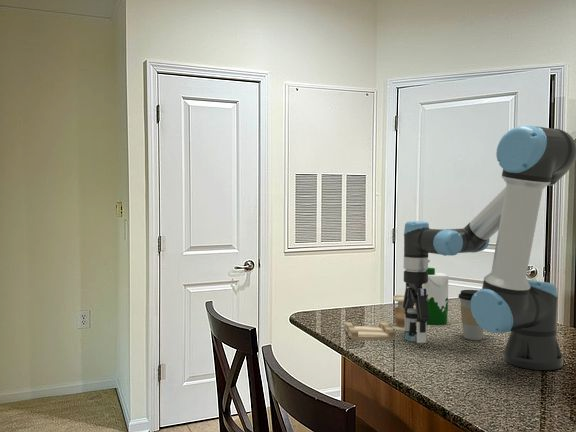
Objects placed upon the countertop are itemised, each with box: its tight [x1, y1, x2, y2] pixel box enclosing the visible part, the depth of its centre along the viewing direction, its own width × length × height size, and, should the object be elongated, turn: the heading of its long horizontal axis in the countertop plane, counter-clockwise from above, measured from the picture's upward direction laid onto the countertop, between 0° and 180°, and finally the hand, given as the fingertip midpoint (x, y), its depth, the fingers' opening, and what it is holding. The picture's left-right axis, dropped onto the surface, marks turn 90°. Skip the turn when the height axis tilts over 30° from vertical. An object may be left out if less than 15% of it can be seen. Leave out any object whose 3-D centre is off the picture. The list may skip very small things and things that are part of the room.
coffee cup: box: [457, 289, 485, 341], centre depth 179 cm, size 9×9×15 cm
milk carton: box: [422, 267, 449, 326], centre depth 198 cm, size 9×9×20 cm
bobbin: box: [390, 294, 417, 332], centre depth 190 cm, size 9×9×11 cm
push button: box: [404, 307, 418, 342], centre depth 174 cm, size 7×5×10 cm
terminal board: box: [344, 321, 397, 341], centre depth 182 cm, size 14×14×3 cm
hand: (414, 336), depth 175 cm, fingers open, 13 cm apart
